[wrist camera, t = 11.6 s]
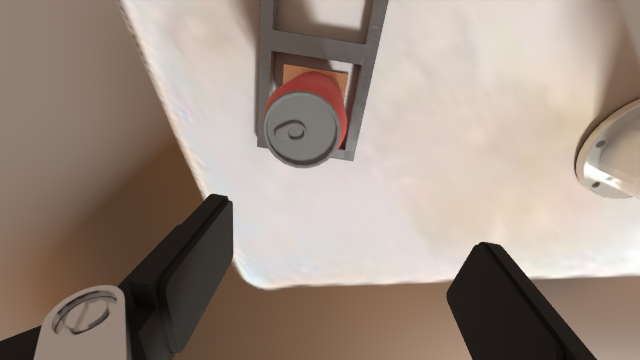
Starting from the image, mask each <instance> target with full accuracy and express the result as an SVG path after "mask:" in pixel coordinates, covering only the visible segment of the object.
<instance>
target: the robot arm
mask: <svg viewBox="0 0 640 360" xmlns="http://www.w3.org/2000/svg"><path fill="white" fill-rule="evenodd" d="M576 173H577V178H578V180H579V181H580V183H581V185H582V186H584V187H585V188H586V189H587V190H589V191H591V192H592V193H594V194H596V195H599V196H601V197H604V198H611V199H625V198H632V197H635V198H637V199H639V200H640V99H638V100H636V101H634V102H632V103H630V104H628V105H626V106H624V107H622V108H621V109H619V110H618V111H616V112H615V113H613V114H612V115H610V116H609V117H608V118H607V119H606V120H604V121H603V122H602V123H601V124H600V125H599V126H598V127H597V128H596V129H595V130H594V131H593V132H592V133H591V134H590V136H589V137H588V139H587V140H586V141H585V143H584V145H583V147H582V149H581V150H580V152H579V156H578V159H577V163H576ZM232 258H233V203H232V201H229V200H228V197H227V196H223V195H217V194H210V195H209V196H208V197H207V198H206V199H205V200H204V201H203V203H202V204H201V205H200V206H199V207H198V208H197V209H196V210H195V211H194V212H193V213H192V214H191V215H190V216H189V217H188V218H187V219H186V220H185V221H184V222H183V223H182V224H180V225H178V226H176V227H175V228H174V229H173V230H172V231H171V232H170V233H169V234H168V235H167V236H166V237H165V238H164V240H162V241H161V242H160V243H159V245H157V247H156V248H155V249H154V250H153V251H152V252H151V253H150V254H149V255H148V256H147V257H146V258H145V259H144V260H143V261H142V262H141V263H140V264H139V265H138V266H137V267H136V268H135V269H134V270H133V271H132V272H131V273H130V274H129V275H128V276H127V277H126V278H125V279H124V280H123V281H122V282H121V283H120V284H119V285H118V286H117V287H114V286H111V285H100V286H95V287H90V288H87V289H85V290H82V291H79V292H77V293H75V294H73V295H71V296H70V297H68V298H66V299H64V300H63V301H62V302H61V303H59V304H58V305H57V306H56V307H54V309H52V311H51V312H50V313H49V314H48V315H47V316H46V318H45V320H44V322H43V324H42V325H41V326H38V327H36V328H33V329H31V330H28V331H25V332H23V333H20V334H18V335H15V336H13V337H10V338H7V339H5V340H2V341H0V360H172V359H173V357H174V356H175V353H176V352H177V353H180V352H182V350H183V349H184V347H185V346H186V344H187V342H188V341H189V339H190V337H191V335H192V333H193V331H194V329H195V328H196V326H197V324H198V322H199V320H200V318H201V316H202V315H203V313H204V311H205V309H206V307H207V305H208V304H209V302H210V300H211V298H212V296H213V294H214V292H215V291H216V289H217V287H218V285H219V283H220V281H221V280H222V278H223V276H224V274H225V272H226V270H227V268H228V267H229V265H230V263H231V261H232ZM447 301H448V304H449V306H450V308H451V310H452V313H453V315H454V318H455V320H456V322H457V325H458V327H459V329H460V332H461V334H462V336H463V338H464V341H465V343H466V346H467V348H468V350H469V353H470V355H471V357H472V359H473V360H597V359H596V358H595V357H594V356H593V354H592V353H591V352H590V351H589V350H588V348H587V347H586V346H585V345H584V344H583V342H582V341H581V340H580V339H579V338H578V336H577V335H576V334H575V333H574V332H573V331H572V329H571V328H570V327H569V326H568V325H567V323H566V322H565V321H564V320H563V319H562V317H561V316H560V315H559V314H558V313H557V312H556V310H555V309H554V308H553V307H552V305H551V304H550V303H549V302H548V301H547V300H546V298H545V297H544V296H543V295H542V294H541V292H540V291H539V290H538V289H537V288H536V286H535V285H534V284H533V283H532V282H531V280H530V279H529V278H528V277H527V276H526V275H525V273H524V272H523V271H522V270H521V269H520V267H519V266H518V265H517V264H516V263H515V261H514V260H513V259H512V258H511V257H510V255H509V254H508V253H507V252H506V251H505V250H504V248H503V247H502V246H501V245H498V244H493V243H487V242H481V243H479V244H478V245H475V246H474V247H473V249H472V251H471V252H470V254H469V256H468V257H467V259H466V261H465V262H464V264H463V266H462V267H461V269H460V271H459V272H458V274H457V276H456V277H455V279H454V281H453V282H452V284H451V286H450V287H449V289H448V291H447Z"/></svg>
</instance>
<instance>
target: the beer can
mask: <svg viewBox="0 0 640 360" xmlns="http://www.w3.org/2000/svg"><path fill="white" fill-rule="evenodd" d="M346 127H347V117H346V112H345V107H344V103H343V98H342V94H341V90H340V89H339V87H338V85H337V84H336V82H335V81H334V80H332V79H331V78H330V77H329V76H327V75H325V74H322V73H320V72H307V73H303V74H300V75H298V76H297V77H295V78H293V79H291V80H290V81H288V82H286V83H284V84H283V85H282V86H280V87H279V88H278V89H276V90H275V91H274V92H273V93H272V95H271V96H270V98H269V99H268V101H267V102H266V106H265V110H264V114H263V123H262V128H263V137H264V140H265V142H266V145H267V147H268V149H269V150H270V151H271V153H272V154H273V155H274V156H275V157H276V158H277V159H279V160H280V161H281V162H283V163H284V164H287V165H290V166H292V167H295V168H311V167H315V166H318V165H320V164H322V163H324V162H325V161H327V160H328V159H329V158H330V157H331V156H332V155H333V154H334V153H335V152H336V150H337V149H338V148H339V147H340V145H341V143H342V141H343V139H344V137H345V134H346Z"/></svg>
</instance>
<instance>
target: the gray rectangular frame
mask: <svg viewBox="0 0 640 360" xmlns="http://www.w3.org/2000/svg"><path fill="white" fill-rule="evenodd" d="M387 5H388V0H373V4H372V9H371V14H370V19H369V25H368V30H367V35H366V40H365V44H359V43H352V42H346V41H340V40H333V39H327V38H321V37H315V36H308V35H302V34H296V33H289V32H283V31H277V30H276V10H277V0H260V42H259V89H258V136H257V147H262V148H268V147H267V145H266V142H265V140H264V137H263V128H262V123H263V114H264V110H265V106H266V102H267V101H268V99H269V98H270V96H271V95H272V93H273V74H274V52H275V51H276V52H283V53H289V54H295V55H302V56H308V57H314V58H321V59H327V60H334V61H340V62H346V63H353V64H359V65H360V70H359V75H358V80H357V86H356V91H355V96H354V101H353V106H352V111H351V116H350V121H349V126H348V131H347V136H346V141H345V146H340V147H339V148H338V149H337V150H336V152H335V153H334V154H333V155H332V156H331V157H330V158H335V159H342V160H348V161H353V159H354V155H355V150H356V146H357V141H358V136H359V132H360V127H361V123H362V118H363V114H364V109H365V105H366V100H367V96H368V91H369V87H370V82H371V77H372V73H373V68H374V64H375V59H376V55H377V50H378V46H379V41H380V37H381V32H382V28H383V23H384V19H385V14H386V9H387ZM307 72H320V73H322V74H325V75H327V76H329V77H330V78H331V79H332V80H334V81H335V82H336V84H337V85H338V87H339V89H340V90H341V94H342V98H343V102H344V97H345V91H346V85H347V80H348V74H345V73H338V72H332V71H325V70H319V69H313V68H306V67H300V66H294V65H287V64H284V69H283V84H284V83H286V82H288V81H290V80H291V79H293V78H295V77H297V76H298V75H300V74H303V73H307Z"/></svg>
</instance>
